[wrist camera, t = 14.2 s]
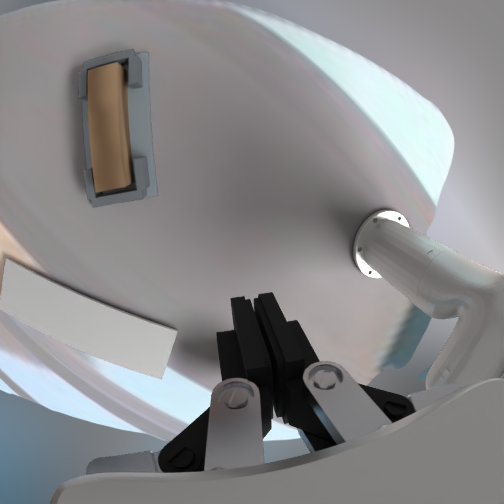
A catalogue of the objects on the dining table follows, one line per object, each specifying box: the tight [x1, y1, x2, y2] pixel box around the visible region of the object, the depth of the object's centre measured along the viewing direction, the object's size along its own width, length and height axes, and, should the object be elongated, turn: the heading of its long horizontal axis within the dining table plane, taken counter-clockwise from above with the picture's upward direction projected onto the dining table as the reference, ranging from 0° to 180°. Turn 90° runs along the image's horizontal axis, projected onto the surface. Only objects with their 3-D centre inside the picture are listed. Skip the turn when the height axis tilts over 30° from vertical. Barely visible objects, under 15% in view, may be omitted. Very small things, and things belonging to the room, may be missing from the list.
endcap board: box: [79, 49, 158, 208], centre depth 30 cm, size 10×21×4 cm, turn 3°
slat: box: [88, 62, 135, 193], centre depth 28 cm, size 4×16×5 cm, turn 3°
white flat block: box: [0, 258, 178, 379], centre depth 40 cm, size 34×5×10 cm
